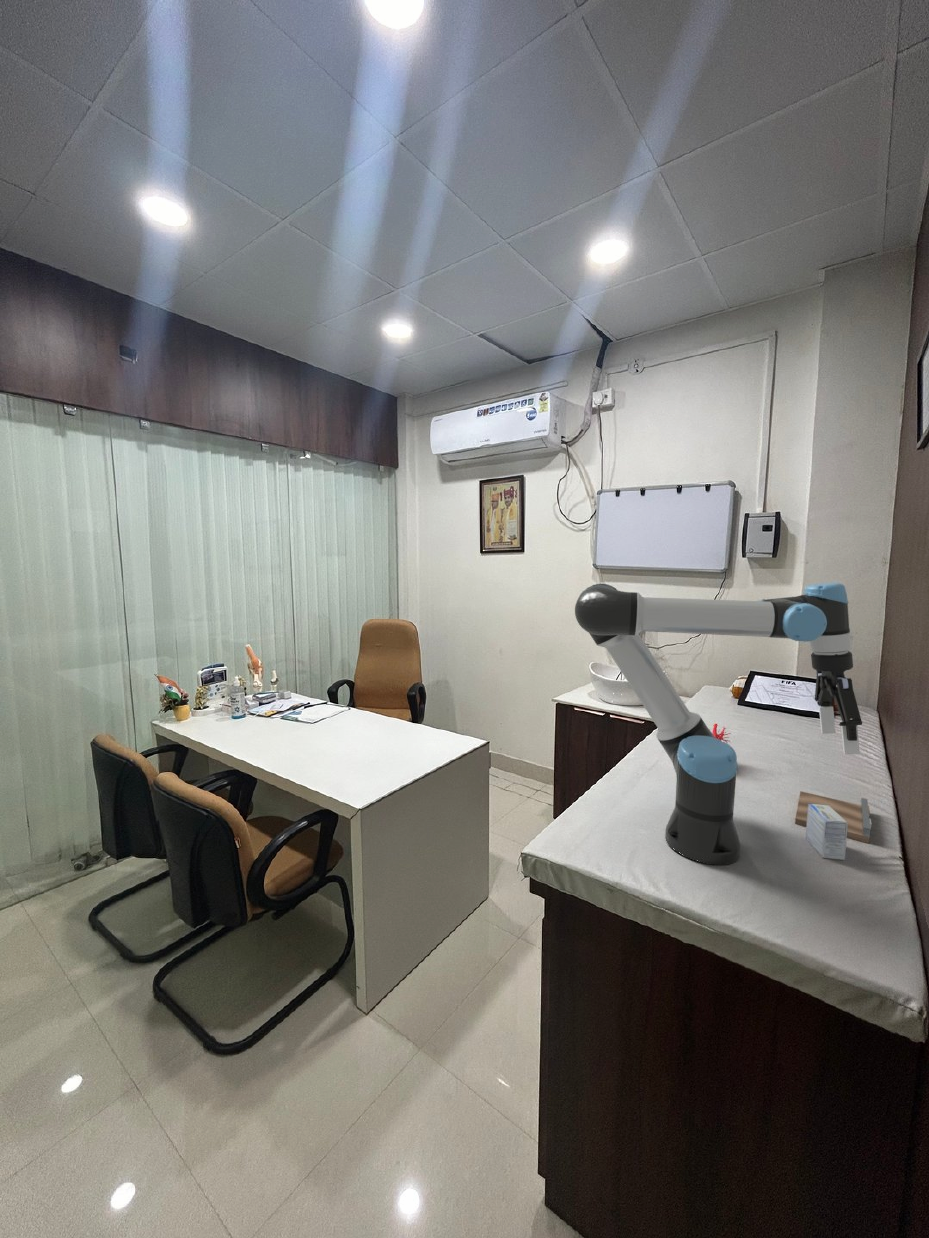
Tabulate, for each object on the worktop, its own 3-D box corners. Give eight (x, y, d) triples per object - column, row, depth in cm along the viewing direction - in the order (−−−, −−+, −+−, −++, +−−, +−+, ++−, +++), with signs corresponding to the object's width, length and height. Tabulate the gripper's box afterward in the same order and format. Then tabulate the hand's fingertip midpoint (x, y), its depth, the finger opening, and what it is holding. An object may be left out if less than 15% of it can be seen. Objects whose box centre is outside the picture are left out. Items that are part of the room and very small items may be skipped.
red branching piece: (688, 767, 154) (690, 730, 152) (696, 755, 163) (698, 720, 162) (724, 775, 148) (726, 736, 146) (730, 763, 157) (732, 726, 156)
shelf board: (870, 843, 112) (872, 829, 112) (794, 823, 120) (796, 810, 120) (867, 812, 126) (868, 799, 126) (800, 796, 135) (801, 784, 134)
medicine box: (845, 861, 105) (849, 822, 105) (821, 858, 106) (825, 820, 105) (826, 840, 113) (829, 804, 112) (804, 838, 114) (807, 802, 113)
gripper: (876, 660, 99) (885, 763, 100) (829, 641, 122) (837, 724, 124) (832, 663, 101) (841, 764, 103) (794, 644, 125) (802, 726, 126)
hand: (839, 742), depth 113 cm, fingers open, 13 cm apart
